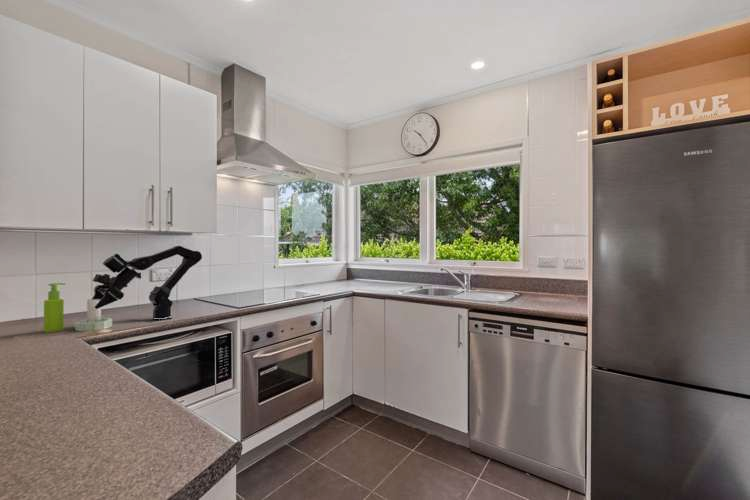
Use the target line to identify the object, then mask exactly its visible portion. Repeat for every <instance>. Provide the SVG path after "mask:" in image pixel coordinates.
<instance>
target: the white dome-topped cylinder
mask: <svg viewBox="0 0 750 500" xmlns="http://www.w3.org/2000/svg"><path fill="white" fill-rule="evenodd" d="M100 300H101V299H92V298H91V299H87V300H86V320H87V323H92V322H101V318H102V307H100V308H98V309H96V308H95V306H96V305H97V303H98V302H99V301H100Z"/></svg>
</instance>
